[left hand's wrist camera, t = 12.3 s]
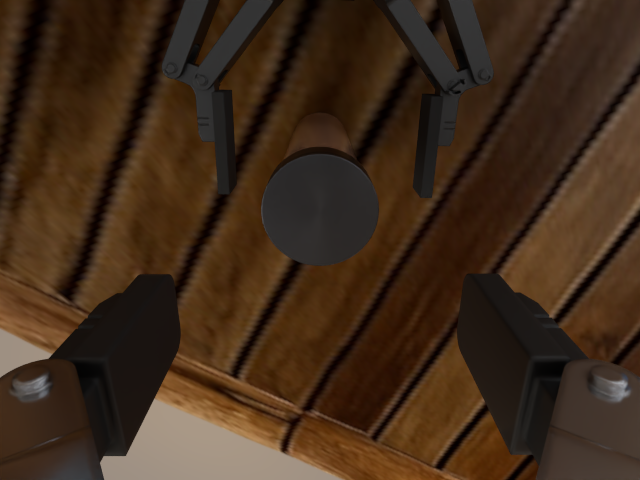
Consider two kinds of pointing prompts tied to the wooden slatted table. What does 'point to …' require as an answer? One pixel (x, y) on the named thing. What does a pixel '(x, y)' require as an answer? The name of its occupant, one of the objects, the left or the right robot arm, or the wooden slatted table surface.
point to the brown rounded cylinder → (320, 134)
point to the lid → (319, 206)
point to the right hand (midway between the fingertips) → (325, 191)
